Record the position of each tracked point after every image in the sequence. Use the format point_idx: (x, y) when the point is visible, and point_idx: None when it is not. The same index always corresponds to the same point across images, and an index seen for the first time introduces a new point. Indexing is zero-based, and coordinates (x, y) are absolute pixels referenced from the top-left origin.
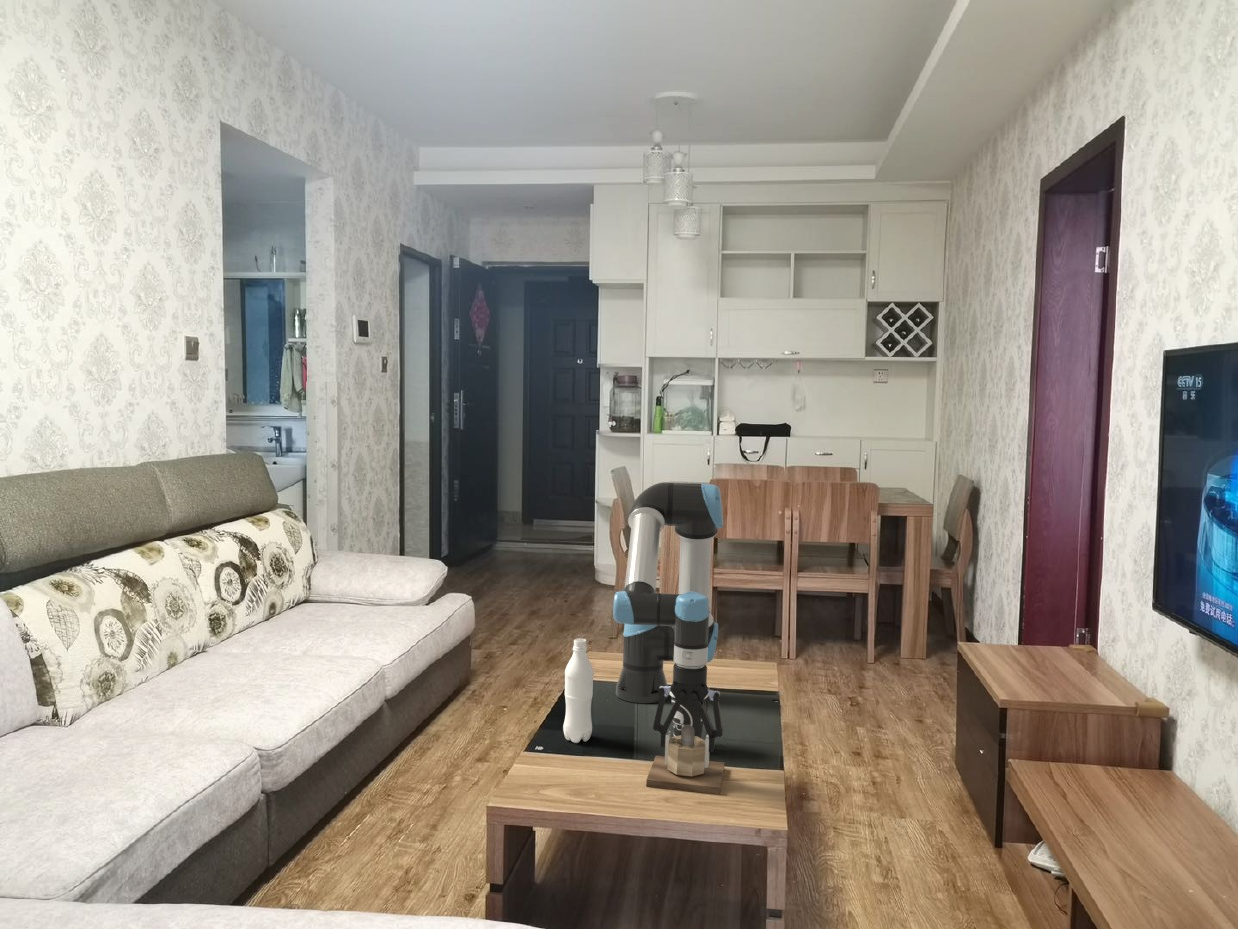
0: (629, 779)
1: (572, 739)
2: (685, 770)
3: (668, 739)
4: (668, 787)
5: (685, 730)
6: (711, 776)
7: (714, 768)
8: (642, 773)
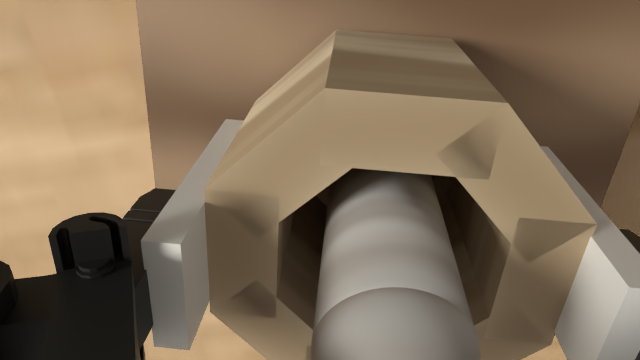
0: (74, 201)
1: None
2: None
3: (198, 317)
4: None
5: None
6: None
7: (582, 79)
8: (115, 117)
